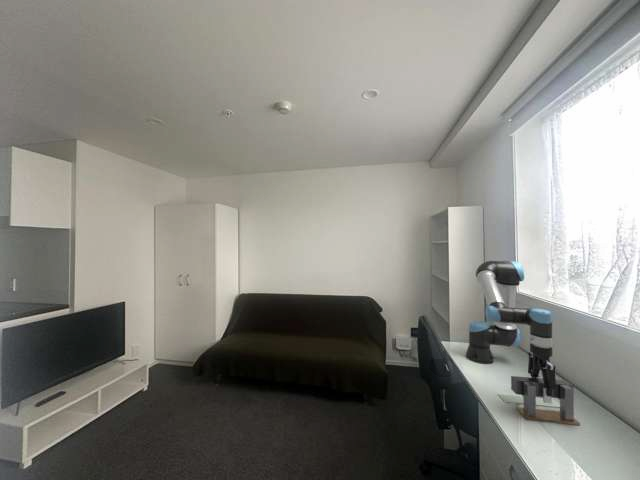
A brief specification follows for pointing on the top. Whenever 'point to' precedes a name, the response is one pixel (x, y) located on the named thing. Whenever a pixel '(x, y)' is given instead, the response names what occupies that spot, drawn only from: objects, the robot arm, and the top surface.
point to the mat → (519, 400)
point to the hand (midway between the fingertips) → (541, 397)
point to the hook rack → (546, 415)
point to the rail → (538, 382)
